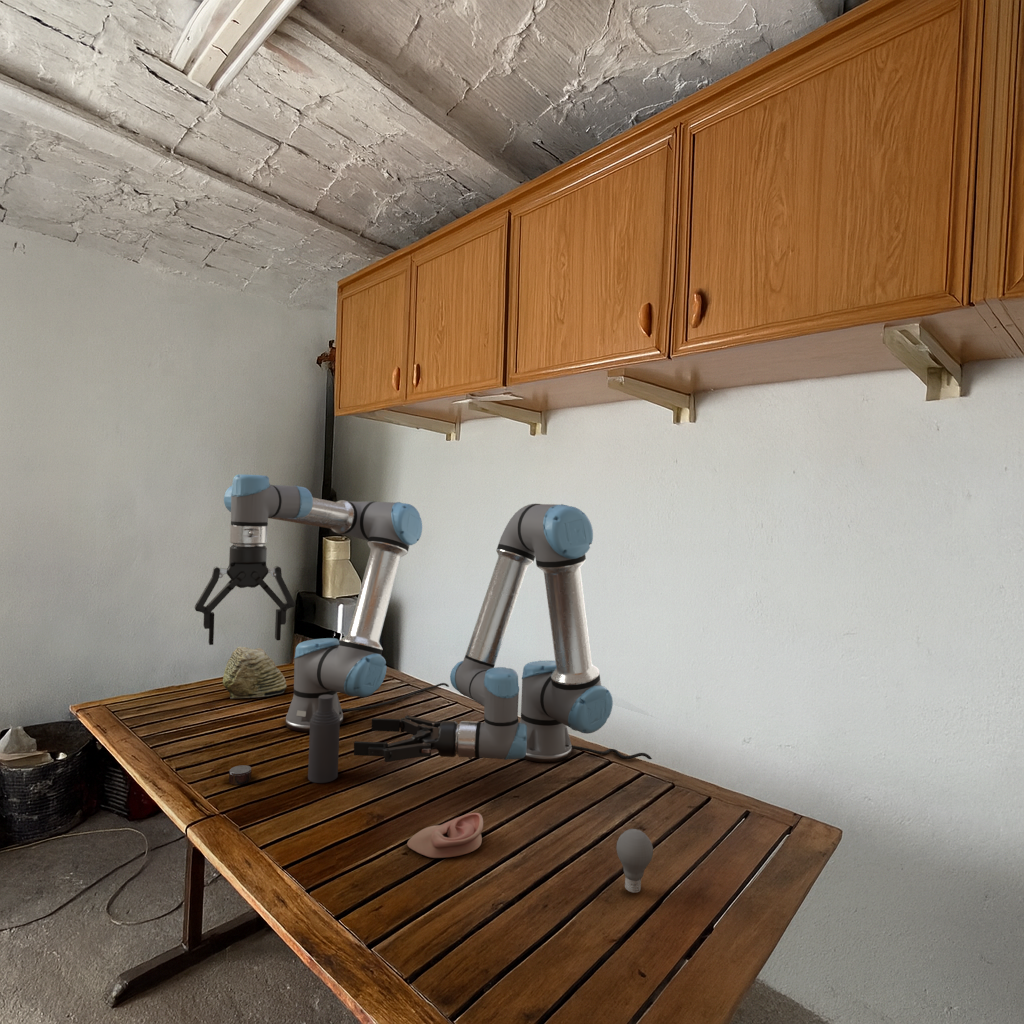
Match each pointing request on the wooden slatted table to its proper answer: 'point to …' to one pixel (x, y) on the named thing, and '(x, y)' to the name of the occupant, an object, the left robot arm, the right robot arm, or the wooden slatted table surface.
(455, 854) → the anatomical model
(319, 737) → the bottle
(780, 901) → the wooden slatted table surface
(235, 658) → the fossil
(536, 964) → the wooden slatted table surface
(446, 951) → the wooden slatted table surface
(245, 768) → the cap
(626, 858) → the light bulb
